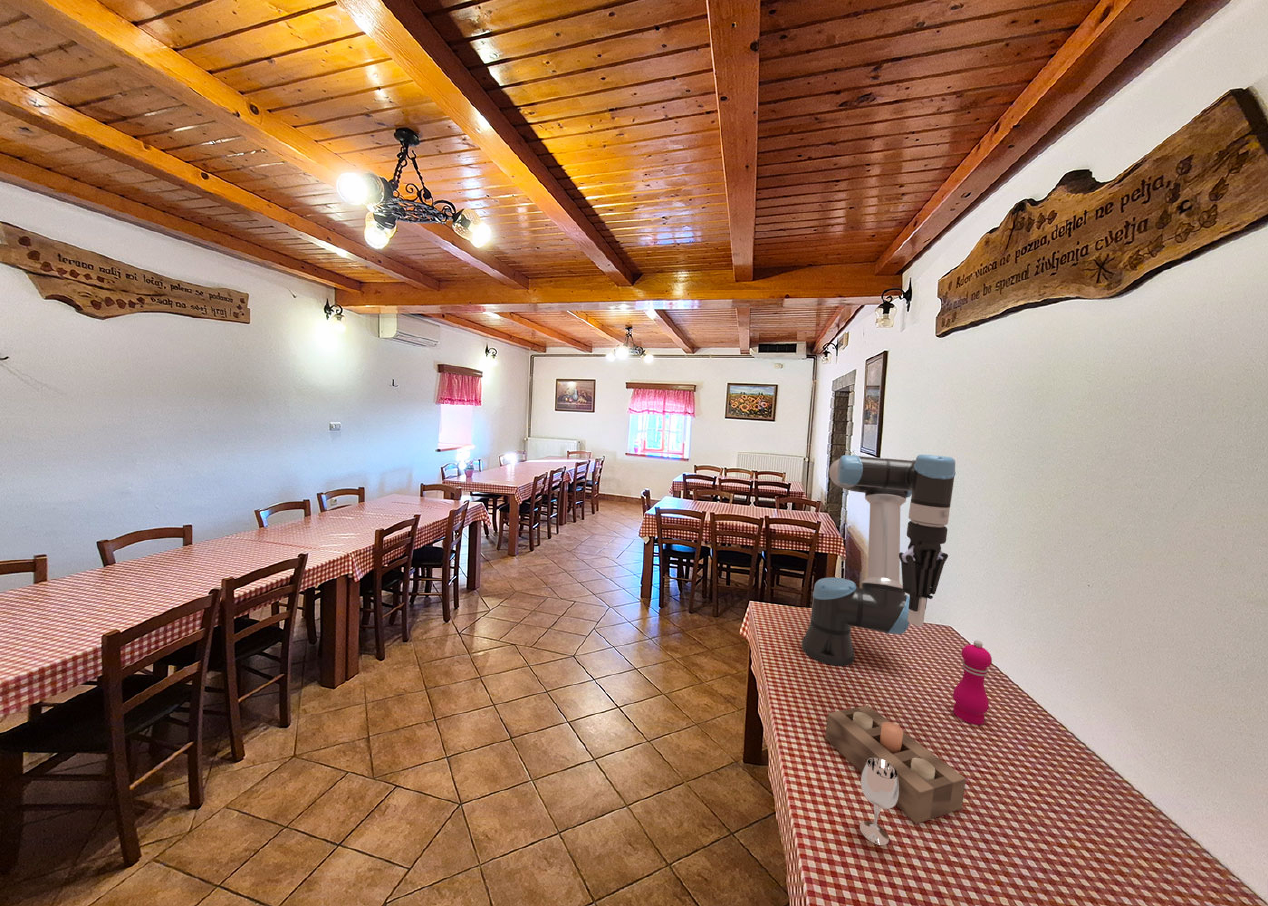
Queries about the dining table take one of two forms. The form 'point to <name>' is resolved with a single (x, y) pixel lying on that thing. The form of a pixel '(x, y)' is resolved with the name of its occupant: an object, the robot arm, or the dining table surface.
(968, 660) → the pepper mill
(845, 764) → the dining table surface
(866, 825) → the wineglass
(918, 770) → the near beech plug
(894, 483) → the robot arm
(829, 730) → the walnut socket block
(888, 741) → the rust plug
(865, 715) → the far beech plug
